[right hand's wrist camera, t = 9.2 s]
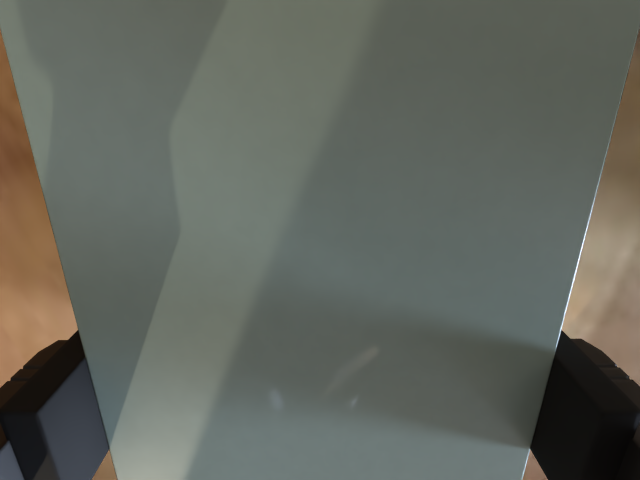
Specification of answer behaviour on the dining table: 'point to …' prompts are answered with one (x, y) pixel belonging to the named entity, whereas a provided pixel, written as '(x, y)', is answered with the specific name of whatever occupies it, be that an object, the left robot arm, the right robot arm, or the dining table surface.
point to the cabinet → (319, 221)
